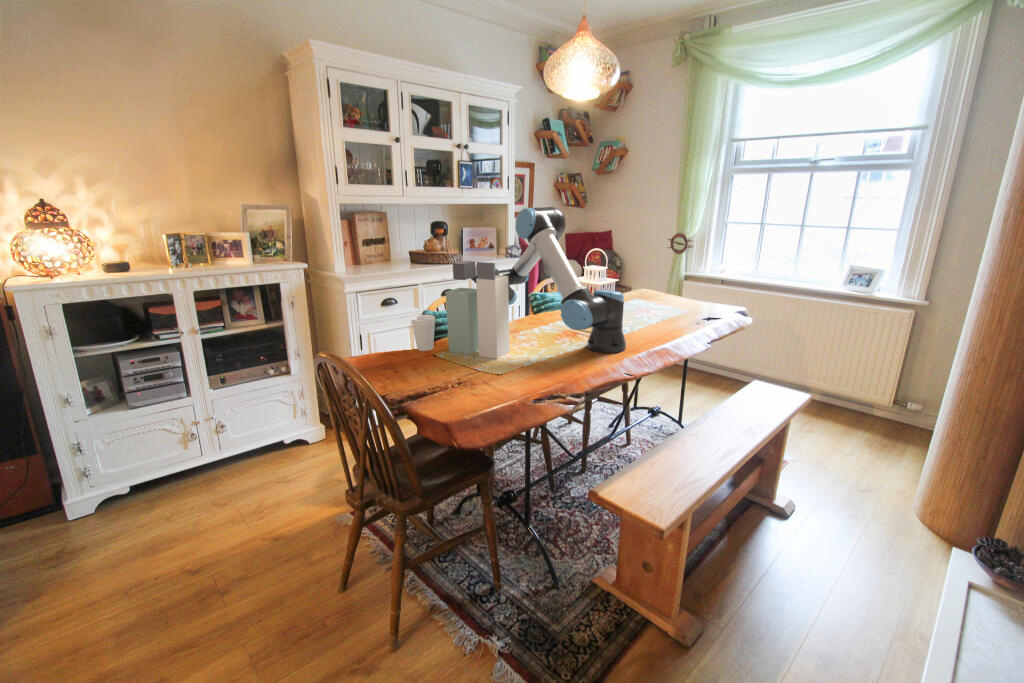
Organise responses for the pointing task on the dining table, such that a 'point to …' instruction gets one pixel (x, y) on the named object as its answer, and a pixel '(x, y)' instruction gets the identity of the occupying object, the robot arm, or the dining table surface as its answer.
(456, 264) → the charger
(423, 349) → the foam cup
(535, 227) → the robot arm
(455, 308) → the sage green pillar
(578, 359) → the dining table surface
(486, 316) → the tower
